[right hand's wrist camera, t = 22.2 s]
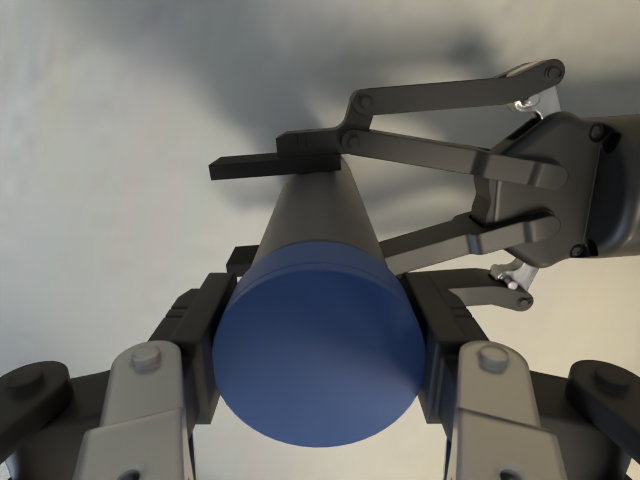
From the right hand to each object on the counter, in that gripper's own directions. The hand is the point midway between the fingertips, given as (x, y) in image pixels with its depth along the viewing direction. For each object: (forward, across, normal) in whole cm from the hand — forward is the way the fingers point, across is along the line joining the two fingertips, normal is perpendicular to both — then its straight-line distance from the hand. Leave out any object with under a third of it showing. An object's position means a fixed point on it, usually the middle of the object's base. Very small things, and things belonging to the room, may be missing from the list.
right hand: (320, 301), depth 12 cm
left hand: (+10, -5, 0) cm, 11 cm away
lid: (-3, 0, 0) cm, 3 cm away
